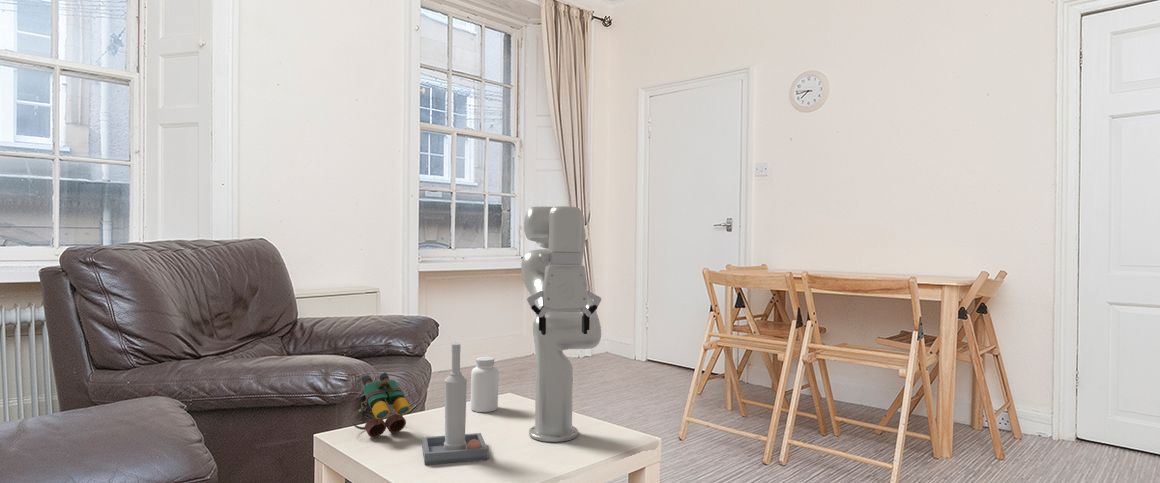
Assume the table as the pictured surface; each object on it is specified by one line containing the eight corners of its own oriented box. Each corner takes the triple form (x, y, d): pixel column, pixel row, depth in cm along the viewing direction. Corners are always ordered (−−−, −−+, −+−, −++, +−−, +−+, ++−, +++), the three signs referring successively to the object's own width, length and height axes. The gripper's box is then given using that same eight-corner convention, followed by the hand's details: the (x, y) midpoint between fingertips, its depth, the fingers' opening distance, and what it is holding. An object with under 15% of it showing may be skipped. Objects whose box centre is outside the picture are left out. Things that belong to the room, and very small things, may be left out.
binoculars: (356, 452, 163) (370, 407, 156) (338, 413, 171) (350, 369, 165) (408, 440, 172) (423, 398, 166) (388, 404, 181) (401, 362, 175)
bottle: (441, 448, 154) (442, 342, 154) (462, 445, 156) (463, 341, 156) (446, 455, 150) (447, 346, 149) (468, 452, 152) (469, 345, 151)
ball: (466, 451, 152) (466, 437, 152) (479, 450, 153) (479, 436, 153) (467, 456, 149) (467, 442, 149) (481, 454, 150) (481, 441, 150)
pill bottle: (492, 413, 186) (493, 361, 186) (466, 411, 188) (466, 360, 188) (501, 406, 194) (502, 356, 194) (476, 404, 196) (476, 355, 195)
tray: (422, 447, 157) (422, 437, 157) (480, 443, 161) (480, 432, 161) (424, 465, 145) (424, 453, 145) (487, 459, 149) (487, 448, 149)
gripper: (529, 260, 145) (528, 336, 146) (605, 260, 149) (604, 335, 149) (525, 259, 153) (525, 331, 153) (597, 259, 156) (597, 330, 156)
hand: (563, 333), depth 151 cm, fingers open, 9 cm apart
